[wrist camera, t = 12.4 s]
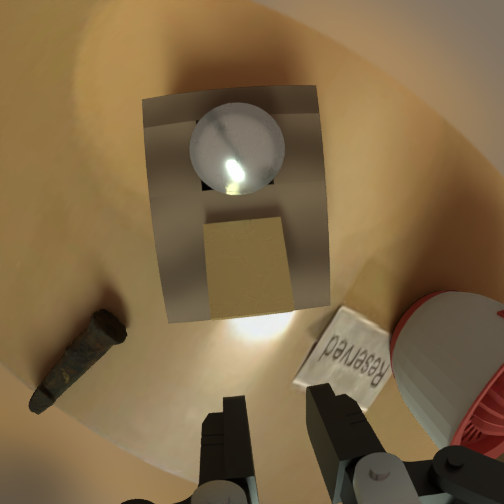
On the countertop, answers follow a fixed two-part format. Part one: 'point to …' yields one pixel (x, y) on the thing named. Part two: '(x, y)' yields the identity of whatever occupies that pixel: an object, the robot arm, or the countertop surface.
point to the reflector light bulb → (237, 148)
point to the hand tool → (79, 358)
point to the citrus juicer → (453, 369)
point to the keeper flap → (247, 268)
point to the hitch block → (235, 206)
